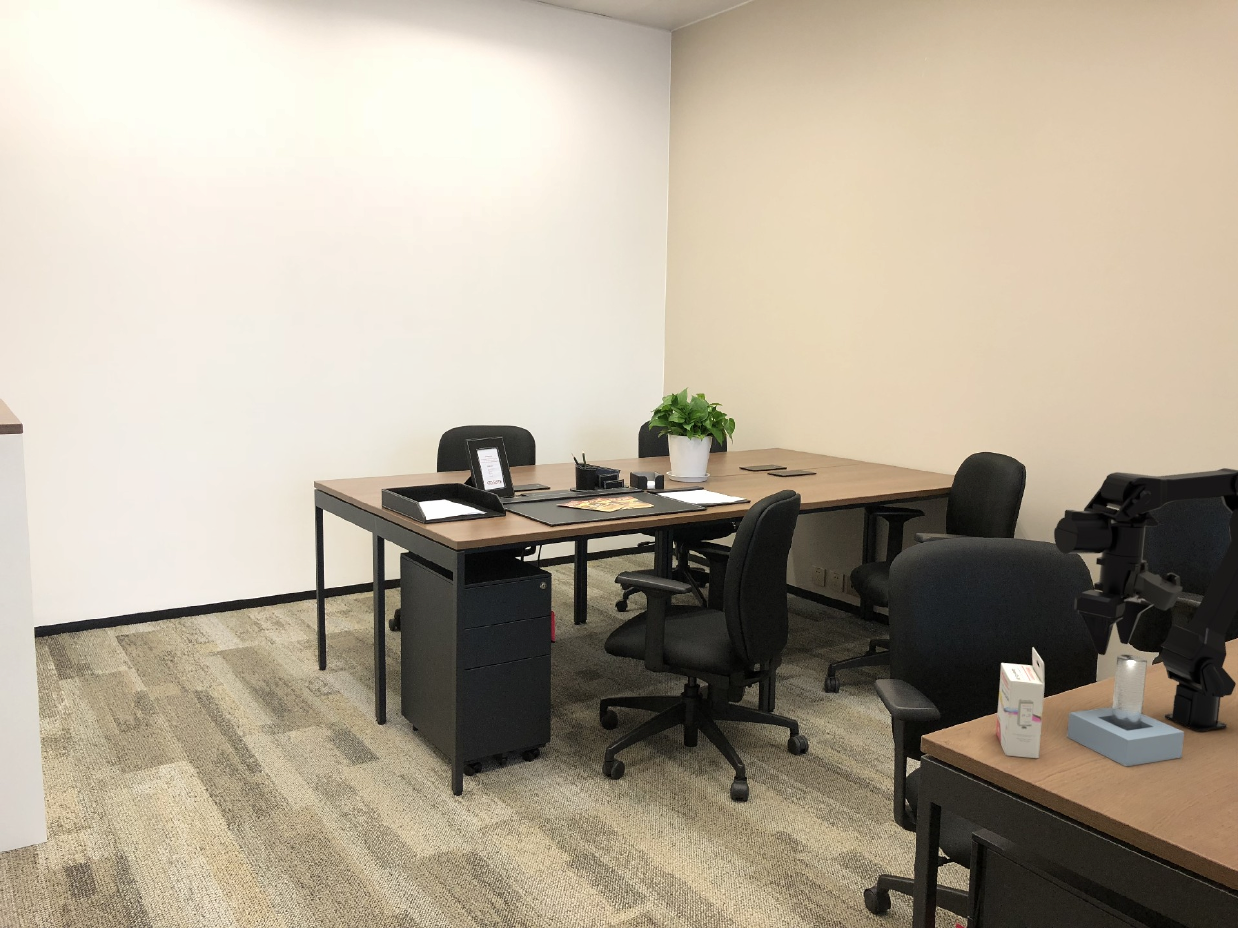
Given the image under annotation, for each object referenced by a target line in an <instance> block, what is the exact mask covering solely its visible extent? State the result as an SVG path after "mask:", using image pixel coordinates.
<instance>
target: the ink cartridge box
mask: <svg viewBox="0 0 1238 928" xmlns="http://www.w3.org/2000/svg"><path fill="white" fill-rule="evenodd" d="M1031 649H1032V650H1031V651H1032V652H1031V653H1032V654H1031V658H1032V660H1031V661H1032V665H1028V664H1017V663H1005V662H1001V663H1000V677H999V679H1000V680H999V690H998V691H999V692H998V703H997V704H998V705H997V713H996V714H997V717H996V729H995V730H996V731H995V735H996V736H997V739H998V741H999V743H1000V745H1001V748H1002V750H1003V752H1004V755H1005V756H1009V757H1019V758H1029V759H1031V758H1032V759H1039V758H1040V747H1041V737H1042V735H1041V732H1042V724H1043V722H1042V721H1043V710H1044V709H1043V708H1044V699H1045V698H1044V697H1045V696H1044V695H1045V694H1044V693H1045V662H1044V661H1043V659H1042V658H1041V656H1040V655H1039V653H1038V652H1037V650H1036V649H1035V647H1034V646H1033V647H1032V648H1031ZM1038 664H1039V665H1038Z"/></svg>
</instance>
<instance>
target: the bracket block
mask: <svg viewBox="0 0 1238 928" xmlns="http://www.w3.org/2000/svg"><path fill="white" fill-rule="evenodd" d="M1111 717H1112V706H1109V707H1102V708H1094V709H1089V710H1088V709H1087V710H1078V711H1072V712H1070V711H1069V714H1068V723H1067V725H1068V726H1067V736H1066V737H1067V738H1068V739H1070V740H1072V741H1074V742H1077V743H1078V744H1079V745H1082V746H1084V747H1085V748H1088V749H1090V750H1092V751H1094V752H1096V753H1098V754H1099V755H1100V754H1101V755H1102V756H1104V757H1107V758H1108V759H1110V760H1112V761H1114V762H1116V763H1118V764H1120V765H1121V766H1124V767H1132V766H1138V765H1142V764H1149V763H1155V762H1162V761H1167V760H1173V759H1180V758H1182V755H1183V745H1184V735H1185V731H1183V730H1181V729H1178V728H1176V727H1174V726H1172V725H1169V724H1167V723H1164V722H1163V721H1160V720H1158V719H1156V718H1153V717H1152V716H1148V715H1145V714H1143V713H1142V717H1141V727H1140V729H1136V730H1129V731H1126V730H1124V729H1122V728H1120V727H1118V726H1115V725H1113V724H1111Z"/></svg>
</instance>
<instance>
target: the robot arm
mask: <svg viewBox="0 0 1238 928" xmlns="http://www.w3.org/2000/svg"><path fill="white" fill-rule="evenodd" d="M1219 497H1220V498H1221V501H1222V504H1223V506H1224V507H1225V508H1226V509H1227V510H1228V511H1229V512H1230V513H1231V517H1230V520H1229V523H1228V528H1229V537H1230V542H1229V543H1230V544H1229V546H1228V548H1227V550H1226V552H1225V554H1224V555H1223V558H1222V559H1221V562H1220V564H1219V565H1218V567H1217V570H1216V571H1215V574H1214V575H1213V577H1212V579H1211V581H1210V584H1209V585H1208V587H1207V590H1206V591H1205V592H1204V593H1205V594H1204V595H1203V597H1202V599H1201V601H1200V603H1199V605H1198V607H1197V609H1196V611H1195V613H1194V615H1193V617H1192V619H1191V620H1190V621H1189V622H1187V623H1186V624H1184V625H1183V626H1182V627H1180V626H1178V625H1176V624H1173V625H1172V626H1171V627H1170V628H1169V631H1168V635H1167V636H1166V639H1164V642H1162V643H1161V644H1160V647H1162V651H1161V653H1160V659H1162V660H1161V661H1162V663H1163V664H1162V665H1163V666H1164V667H1165V670H1166V674H1167V678H1168V679H1169V680H1173V681H1175V682H1177V683H1178V684H1176V687H1175V694H1174V698H1173V706H1172V713H1165V714H1164V718H1166V719H1168V720H1169V721H1172V722H1175V723H1177V724H1180V725H1182V726H1184V727H1187V728H1188V729H1191V730H1194V731H1196V732H1206V731H1212V730H1219V729H1227V727H1228V725H1227V724H1226V723H1224V722H1221V721H1219V717H1220V716H1219V713H1220V707H1221V706H1220V705H1221V698H1224V697H1227V696H1232V694H1233V691H1234V689H1235V687H1236V685H1237V684H1236V681H1235V680H1234V679H1233V678H1232V677H1231V676H1230V674H1229V673H1228V672H1227V671H1226V670H1225V668H1224V667H1223V666H1224V664H1225V661H1226V660H1225V659H1226V658H1227V648H1226V647H1227V646H1226V638H1225V637H1226V633H1227V630H1228V629H1229V627H1230V624H1231V623H1232V621H1233V619H1234V617H1235V615H1236V613H1237V611H1238V469H1234V468H1225V467H1222V468H1221V469H1218V470H1216V469H1215V470H1208V471H1198V472H1197V471H1196V472H1189V473H1178V474H1177V473H1176V474H1169V475H1159V476H1158V475H1157V476H1156V475H1148V474H1147V475H1146V474H1140V473H1139V474H1138V473H1131V472H1119V471H1118V472H1117V471H1116V472H1111V473H1109V474H1107V475H1106V477H1105V479H1104V480H1103V482H1102V485H1101V487H1100V488H1099V489H1098V490H1097V492H1096V493H1095V494H1094V495H1093V497H1092V498H1091V499H1090V501H1089V502H1088V503H1087V505H1085V507H1084V509H1083V510H1075V509H1066V510H1065V511H1064V517H1061V519H1059V521H1058V522H1057V524H1056V527H1054V531H1053V538H1054V542H1055V545H1056V547H1057V549H1058V551H1060V552H1061V553H1062V554H1065V555H1066V554H1067V555H1069V554H1076V555H1077V554H1081V555H1082V554H1084V555H1085V554H1088V555H1089V554H1091V555H1092V554H1101V556H1100V557H1096V560H1095V561H1096V562H1095V565H1099V566H1100V569H1099V580H1098V581H1097V582H1095V583H1093V589H1089V590H1086V591H1083V592H1080V593H1079V594H1077V595H1076V596H1075V597H1074V605H1073V607H1074V608H1073V609H1074V610H1075V611H1077V614H1079V615H1080V617H1081V618H1082V620H1083V622H1084V625H1085V627H1086V629H1087V632H1088V634H1089V635H1090V639H1091V641H1092V644H1093V646H1094V649H1095V651H1096V653H1097V654H1098V655H1101V656H1105V655H1106V654H1107V652H1108V651H1107V650H1108V647H1109V643H1110V641H1111V635H1112V632H1113V628H1114V625H1115V626H1116V630H1117V634H1118V638H1119V642H1120V643H1121V644H1123V645H1128V644H1129V643H1130V640H1131V638H1132V635H1133V633H1134V631H1135V629H1136V627H1137V624H1138V621H1139V619H1140V617H1141V615H1142V613H1144V612H1145V611H1146V610H1148V609H1149V608H1151V607H1153V606H1154V608H1157V609H1158V610H1161V611H1167V610H1169V609H1171V608H1173V607H1174V606H1175V604H1176V602H1177V600H1178V599H1179V597H1181V596H1182V595H1183V589H1184V587H1183V586H1181V576H1179V575H1177V574H1176V573H1174V572H1169V573H1166V574H1164V575H1163V576H1161V575H1160V574H1158V573H1157V574H1154V573H1153V572H1150V571H1149V563H1147V562H1148V561H1147V560H1144V559H1143V557H1144V555H1143V554H1144V546H1145V545H1144V543H1145V535H1146V534H1145V533H1146V527H1158V526H1159V525H1160V523H1159V521H1158V520H1157V519H1155V517H1153V516H1152V515H1151V512H1152V511H1153V512H1154V511H1155V510H1159V509H1161V508H1163V506H1164V505H1166V504H1170V503H1172V502H1183V501H1190V500H1191V501H1192V500H1199V499H1210V498H1219Z"/></svg>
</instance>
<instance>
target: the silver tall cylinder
mask: <svg viewBox="0 0 1238 928" xmlns="http://www.w3.org/2000/svg"><path fill="white" fill-rule="evenodd" d="M1147 664H1148V660H1147V659H1146V658H1144V657H1141V656H1138V655H1133V654H1118V655H1117V657H1116V666H1115V667H1116V668H1115V677H1114V678H1115V679H1114V686H1113V687H1114V688H1113V689H1114V690H1113V697H1112V699H1113V700H1112V706H1111V707H1112V717H1111V724H1113V725H1115V726H1118V727H1120V728H1122V729H1124V730H1126V731H1129V730H1136V729H1140V727H1141V717H1142V714H1143V707H1144V706H1143V705H1144V696H1145V687H1146V686H1145V685H1146V675H1147V666H1148V665H1147Z"/></svg>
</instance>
